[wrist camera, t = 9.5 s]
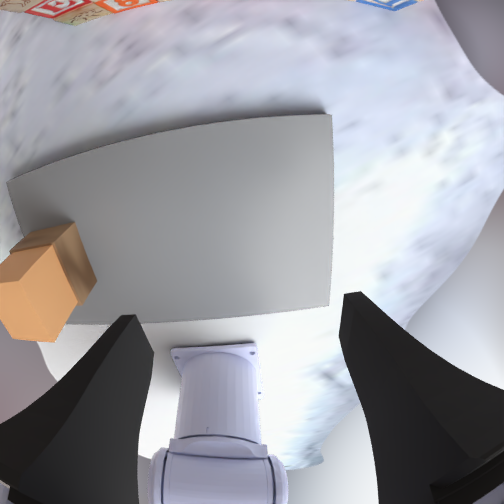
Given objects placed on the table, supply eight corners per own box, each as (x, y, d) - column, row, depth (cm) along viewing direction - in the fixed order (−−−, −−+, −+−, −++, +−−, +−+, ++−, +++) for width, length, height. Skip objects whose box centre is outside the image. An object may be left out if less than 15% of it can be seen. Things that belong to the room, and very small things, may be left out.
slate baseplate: (325, 297, 22) (329, 305, 22) (70, 317, 23) (66, 324, 22) (326, 113, 15) (331, 114, 15) (13, 178, 16) (6, 182, 15)
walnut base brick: (97, 280, 20) (82, 305, 17) (52, 284, 20) (36, 306, 17) (74, 222, 17) (53, 242, 14) (30, 232, 17) (9, 251, 15)
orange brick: (77, 301, 17) (54, 342, 13) (36, 303, 17) (13, 338, 13) (52, 244, 15) (18, 281, 11) (12, 252, 15) (-20, 284, 11)
